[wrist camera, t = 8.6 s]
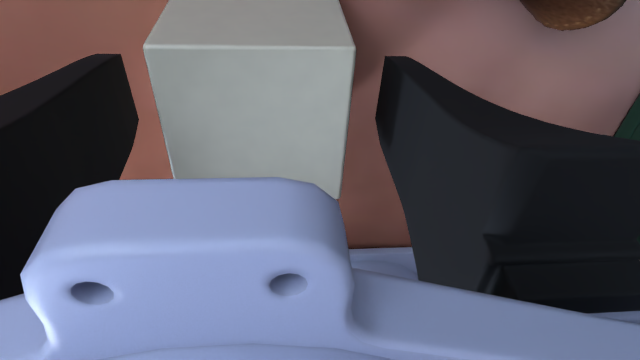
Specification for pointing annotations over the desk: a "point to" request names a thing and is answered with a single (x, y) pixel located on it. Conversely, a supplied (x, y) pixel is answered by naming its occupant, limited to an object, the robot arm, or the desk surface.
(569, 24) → the sunglasses case
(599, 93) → the desk surface
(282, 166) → the block
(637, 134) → the caddy
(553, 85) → the desk surface
